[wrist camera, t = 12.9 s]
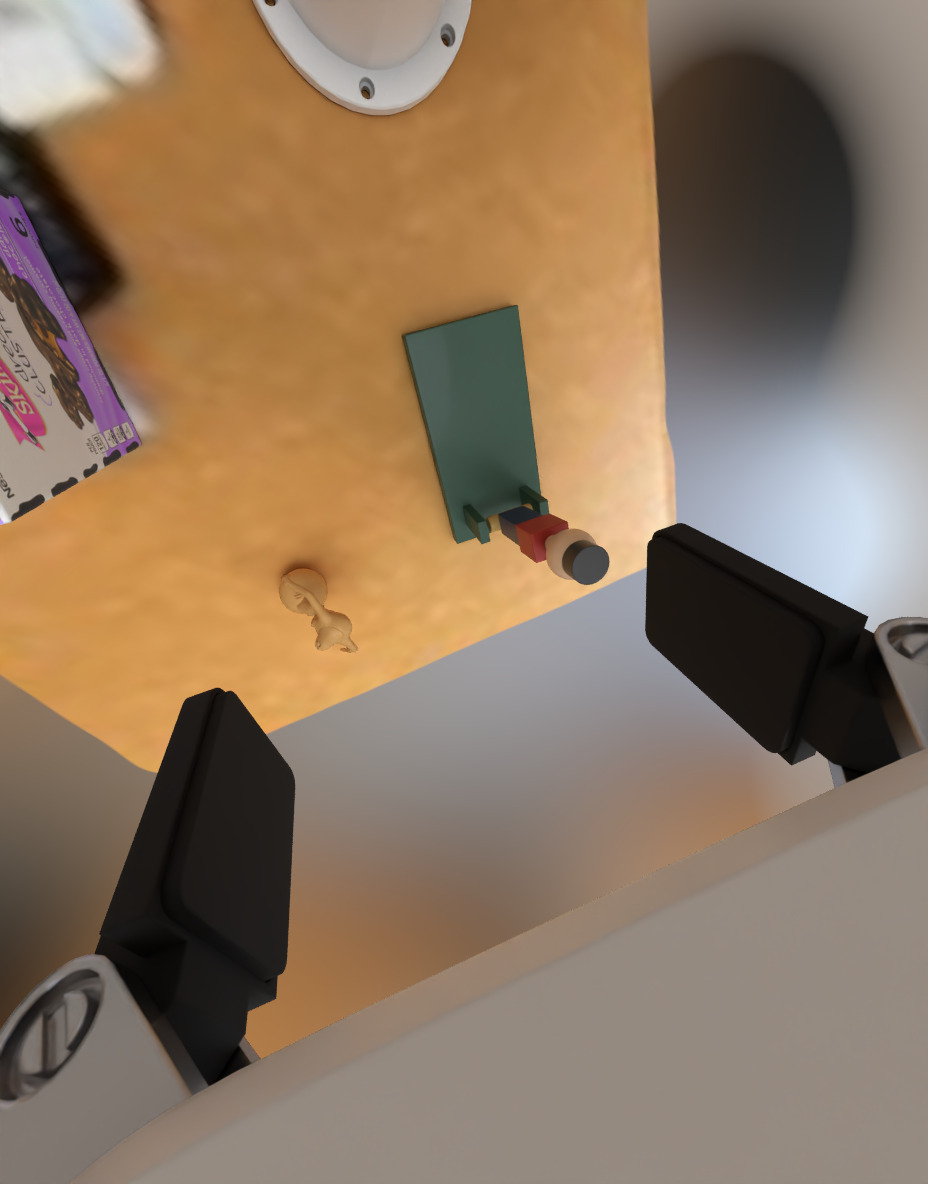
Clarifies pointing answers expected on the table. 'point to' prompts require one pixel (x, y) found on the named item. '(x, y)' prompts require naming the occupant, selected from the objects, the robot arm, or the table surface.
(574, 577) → the toy soldier
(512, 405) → the stand
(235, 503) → the table surface
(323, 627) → the figurine
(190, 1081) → the robot arm
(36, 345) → the candy box
